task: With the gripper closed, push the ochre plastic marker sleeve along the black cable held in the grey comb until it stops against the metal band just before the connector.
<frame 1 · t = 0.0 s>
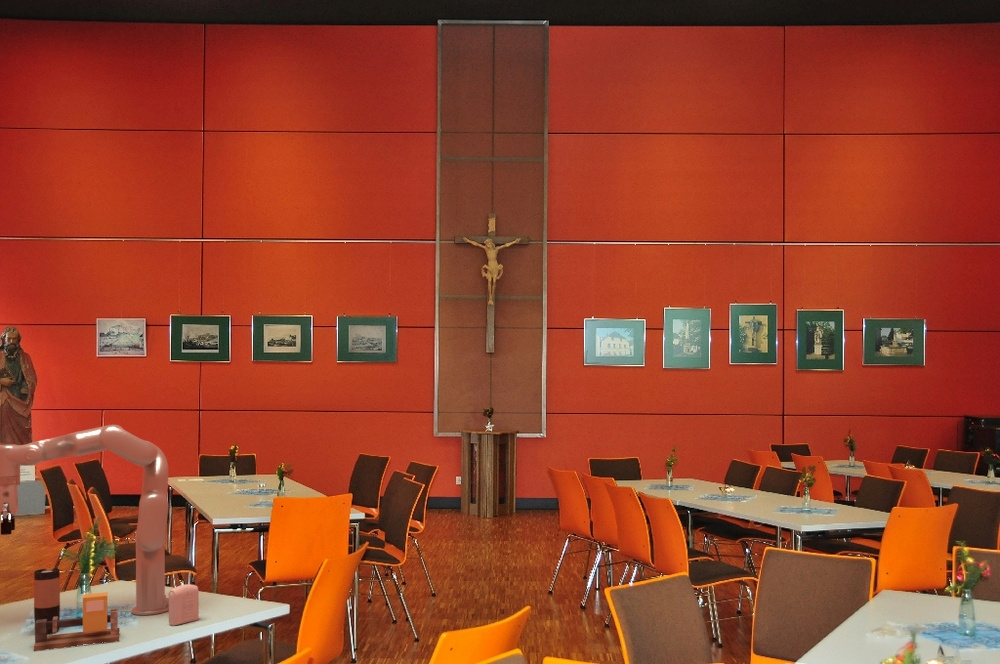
hand: (7, 532, 324), 31 cm above the table, tool pointing down, fingers open, 9 cm apart
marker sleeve: (95, 612, 303), point 8 cm above the table, slide at 0.0 cm
travel mug: (47, 632, 313), on the table
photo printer: (183, 623, 321), on the table
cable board: (78, 641, 301), on the table
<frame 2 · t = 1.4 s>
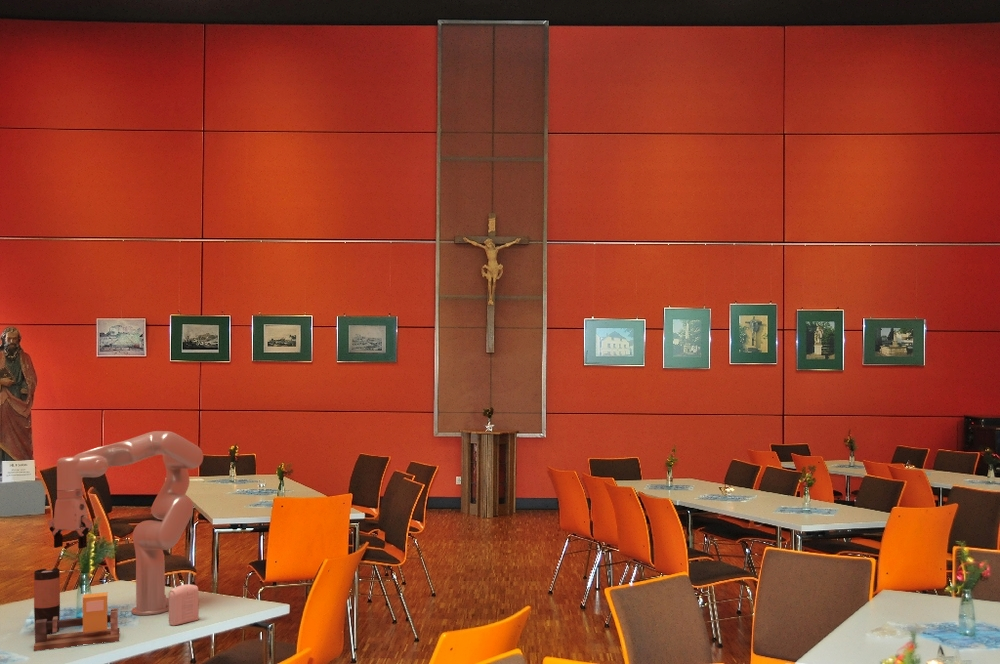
hand: (70, 547, 314), 27 cm above the table, tool pointing down, fingers open, 9 cm apart
nothing on the table moved.
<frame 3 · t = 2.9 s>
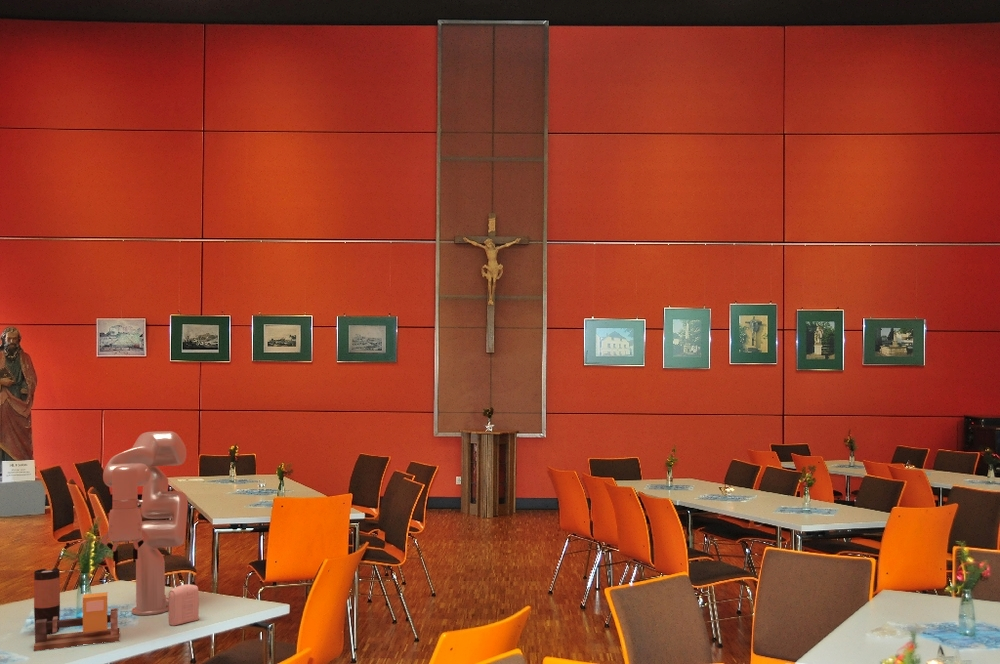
hand: (125, 561, 307), 23 cm above the table, tool pointing down, fingers open, 4 cm apart
nothing on the table moved.
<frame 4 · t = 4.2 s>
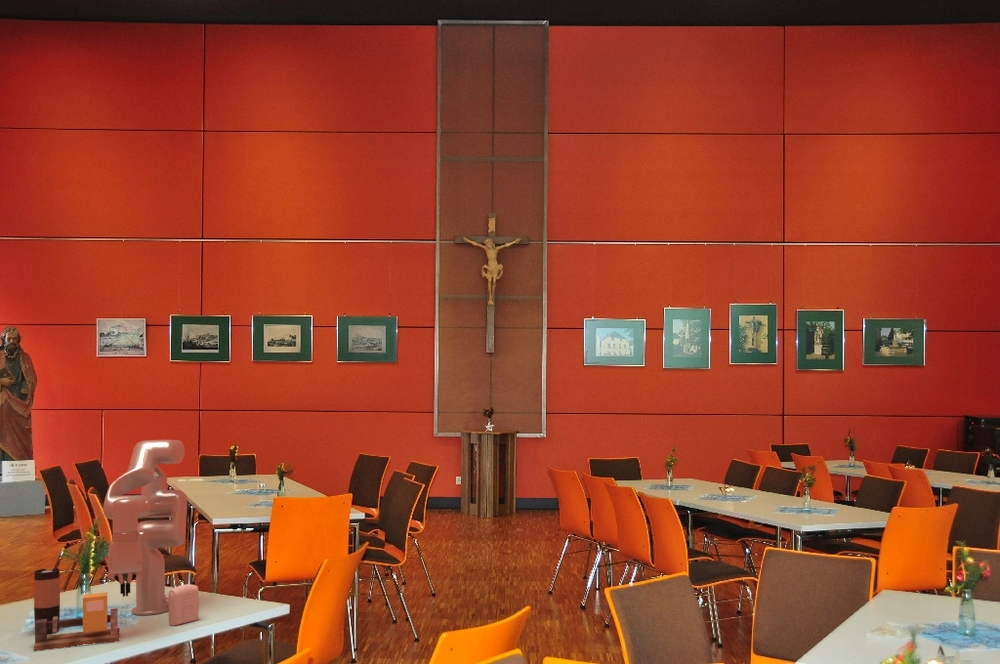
hand: (125, 595, 306), 13 cm above the table, tool pointing down, fingers closed
nothing on the table moved.
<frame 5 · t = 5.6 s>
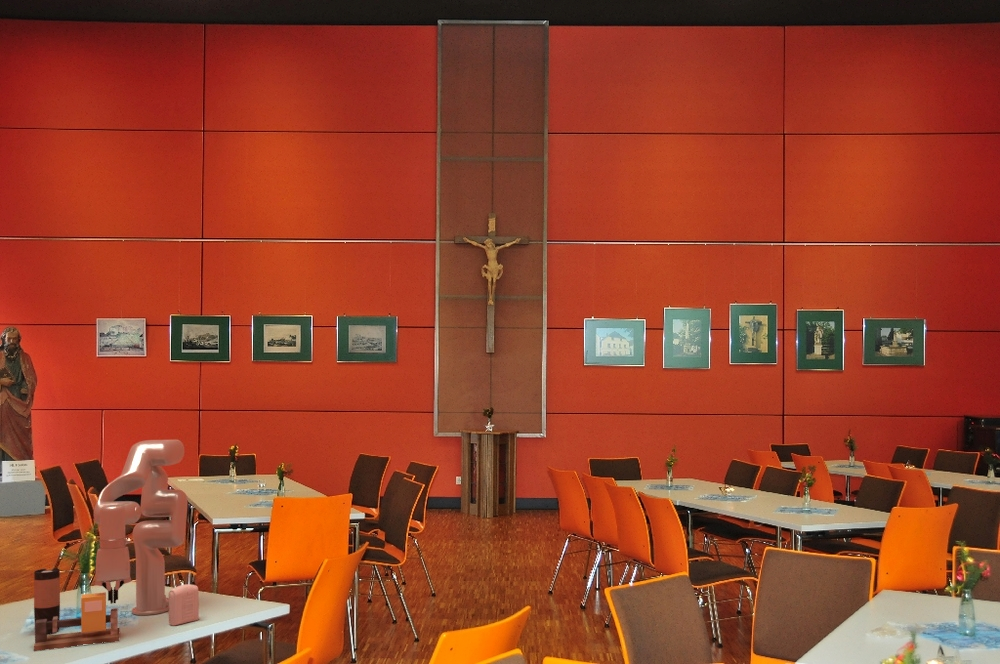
hand: (113, 602, 305), 11 cm above the table, tool pointing down, fingers closed
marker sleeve: (93, 612, 302), point 8 cm above the table, slide at 0.4 cm, touching gripper
everything else where it was.
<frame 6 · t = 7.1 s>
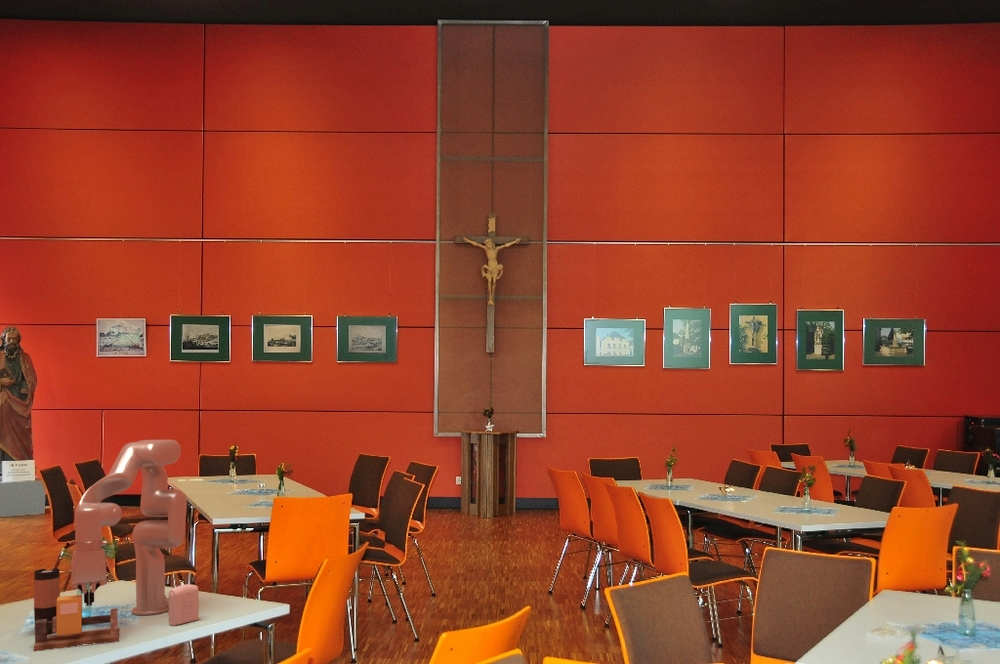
hand: (89, 604, 302), 11 cm above the table, tool pointing down, fingers closed
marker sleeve: (69, 614, 300), point 9 cm above the table, slide at 7.4 cm, touching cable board, gripper
everything else where it was.
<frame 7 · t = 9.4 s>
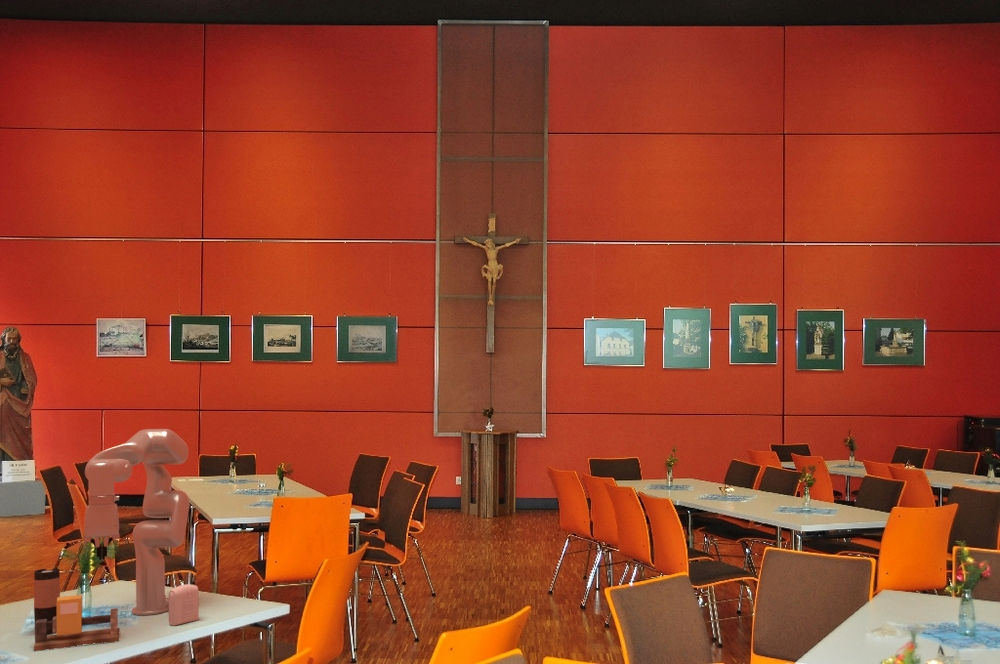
hand: (101, 559, 304), 25 cm above the table, tool pointing down, fingers closed
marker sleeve: (69, 614, 300), point 9 cm above the table, slide at 7.4 cm, touching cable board
everything else where it was.
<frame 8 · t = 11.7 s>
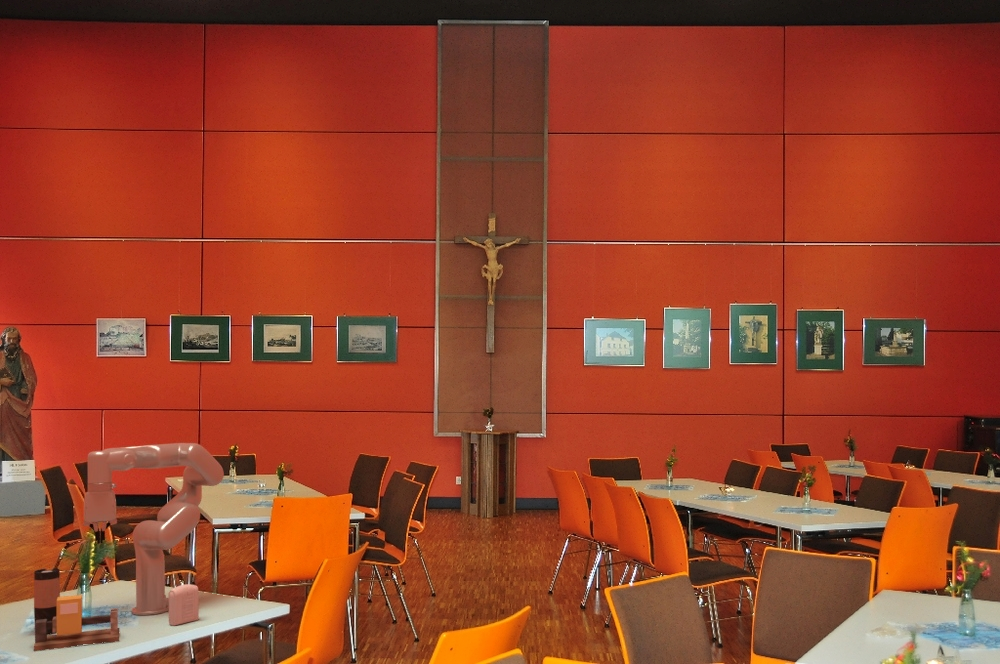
hand: (100, 542, 323), 27 cm above the table, tool pointing down, fingers closed
nothing on the table moved.
at the end: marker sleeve slide at 7.4 cm; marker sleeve moved 7.4 cm from its start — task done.
